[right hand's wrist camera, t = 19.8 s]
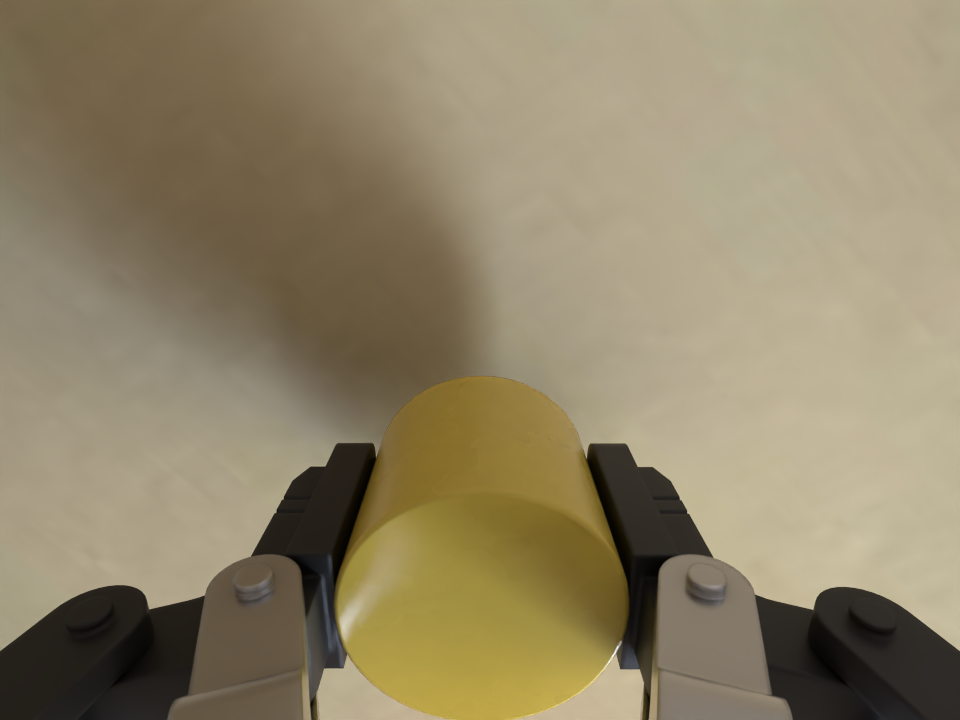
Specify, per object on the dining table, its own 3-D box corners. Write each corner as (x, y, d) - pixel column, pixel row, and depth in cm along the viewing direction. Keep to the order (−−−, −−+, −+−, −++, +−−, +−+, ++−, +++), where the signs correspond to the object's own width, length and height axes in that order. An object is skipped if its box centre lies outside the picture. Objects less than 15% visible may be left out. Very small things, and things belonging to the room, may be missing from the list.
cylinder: (352, 517, 13) (297, 680, 9) (418, 343, 12) (387, 447, 8) (534, 576, 14) (555, 753, 10) (619, 417, 12) (685, 549, 8)
